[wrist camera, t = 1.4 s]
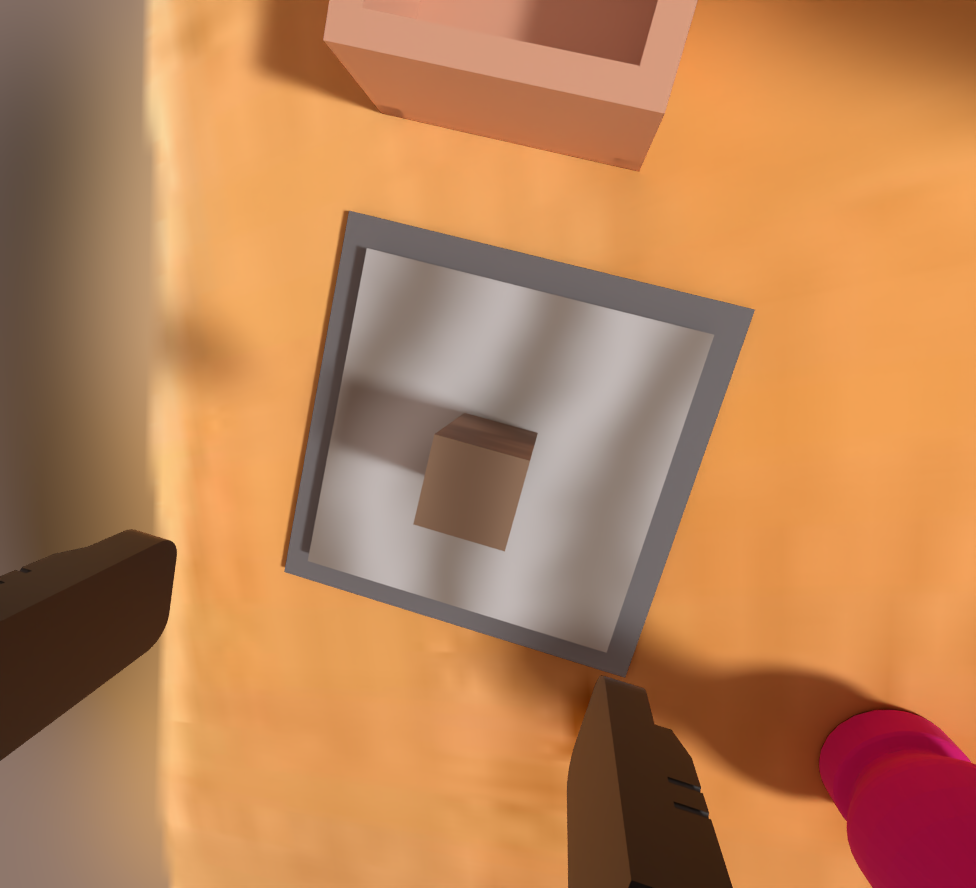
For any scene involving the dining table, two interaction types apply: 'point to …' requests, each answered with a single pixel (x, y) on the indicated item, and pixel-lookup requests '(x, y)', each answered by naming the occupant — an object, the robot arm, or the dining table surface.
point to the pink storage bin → (520, 67)
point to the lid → (501, 445)
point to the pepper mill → (903, 800)
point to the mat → (557, 280)
